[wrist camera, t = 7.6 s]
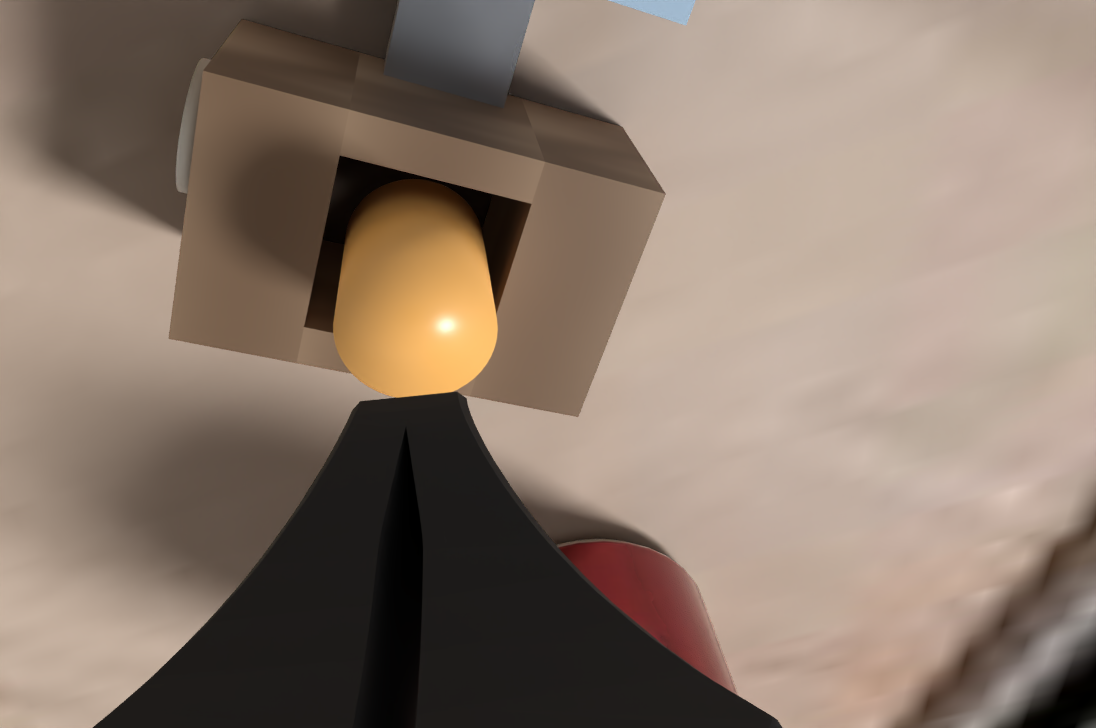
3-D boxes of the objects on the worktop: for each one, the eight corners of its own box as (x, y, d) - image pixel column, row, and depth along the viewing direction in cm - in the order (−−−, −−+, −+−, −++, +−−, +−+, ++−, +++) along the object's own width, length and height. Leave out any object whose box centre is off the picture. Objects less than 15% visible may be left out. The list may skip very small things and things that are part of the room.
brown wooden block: (622, 126, 20) (665, 193, 17) (552, 322, 22) (577, 416, 19) (225, 14, 18) (182, 65, 14) (194, 245, 20) (150, 335, 17)
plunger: (499, 198, 17) (517, 277, 14) (463, 316, 18) (473, 412, 16) (360, 163, 17) (351, 240, 14) (333, 288, 18) (319, 383, 15)
